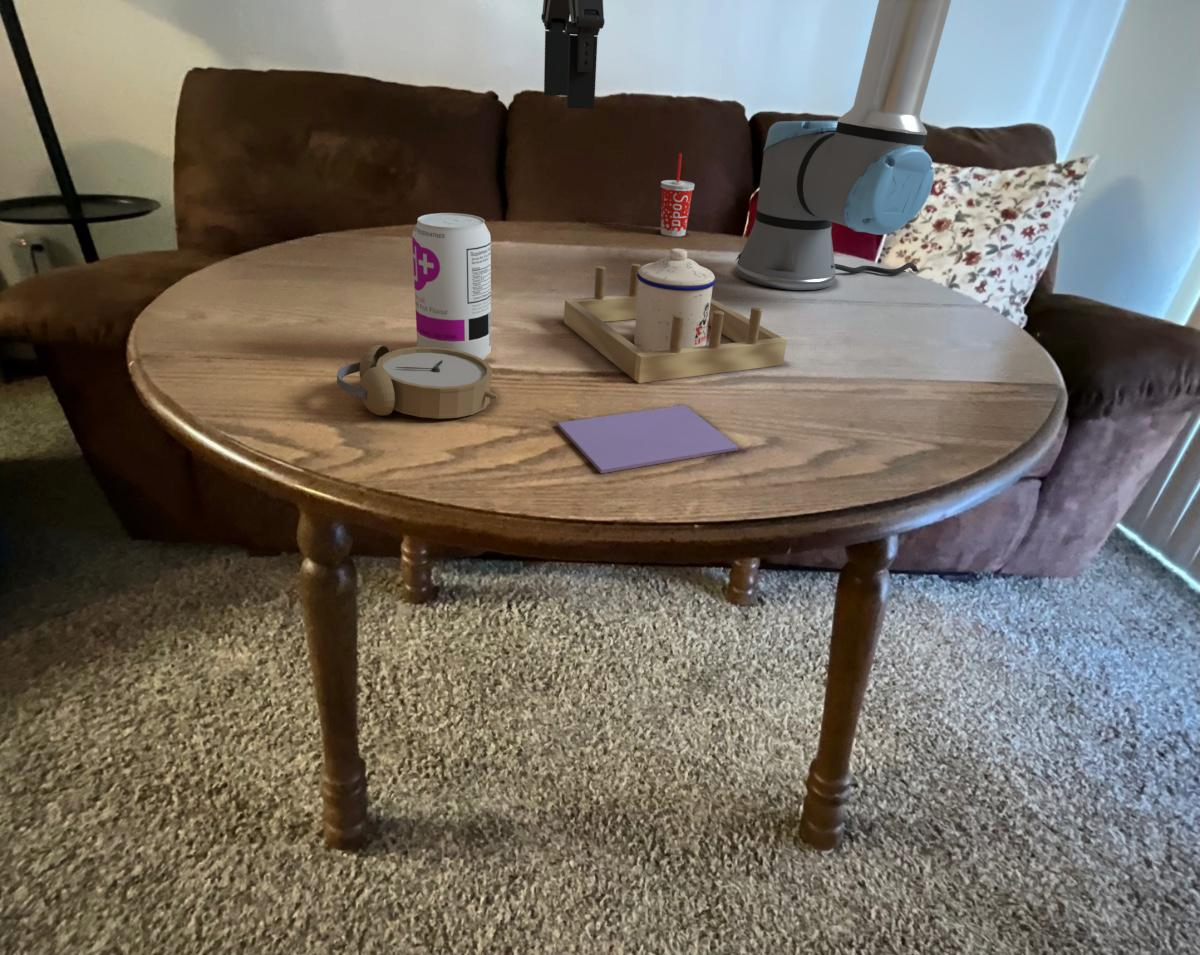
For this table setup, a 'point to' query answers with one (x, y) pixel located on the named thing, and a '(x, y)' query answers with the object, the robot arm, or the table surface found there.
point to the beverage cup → (675, 205)
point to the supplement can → (453, 282)
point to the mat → (645, 438)
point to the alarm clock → (420, 382)
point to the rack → (672, 337)
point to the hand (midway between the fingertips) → (567, 101)
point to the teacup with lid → (672, 302)
